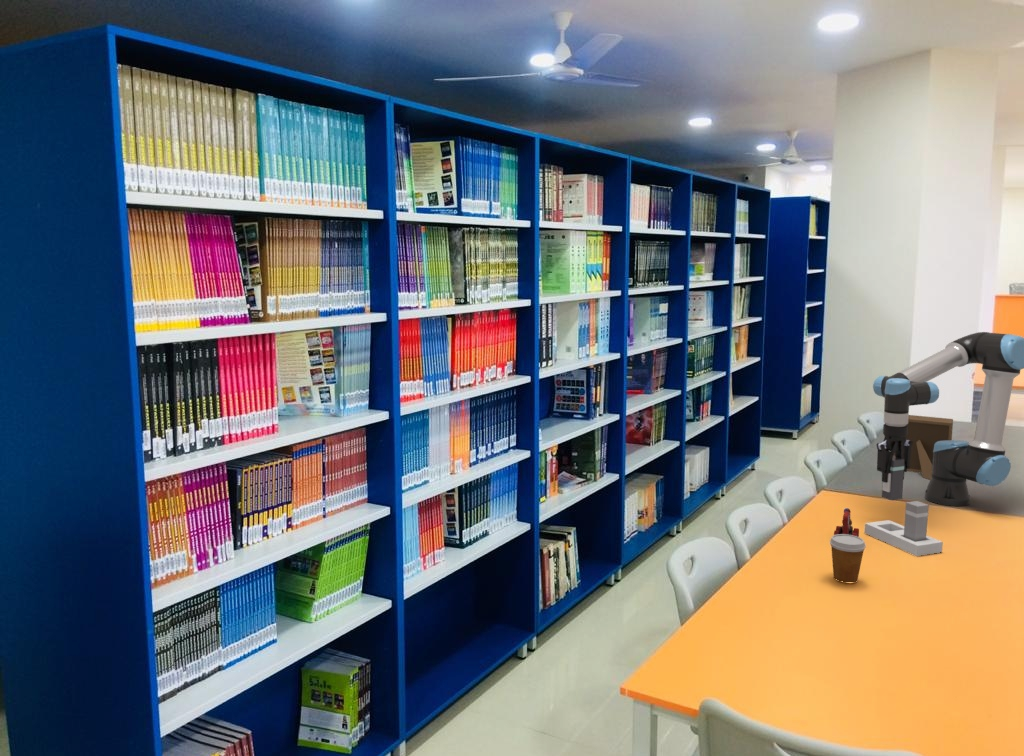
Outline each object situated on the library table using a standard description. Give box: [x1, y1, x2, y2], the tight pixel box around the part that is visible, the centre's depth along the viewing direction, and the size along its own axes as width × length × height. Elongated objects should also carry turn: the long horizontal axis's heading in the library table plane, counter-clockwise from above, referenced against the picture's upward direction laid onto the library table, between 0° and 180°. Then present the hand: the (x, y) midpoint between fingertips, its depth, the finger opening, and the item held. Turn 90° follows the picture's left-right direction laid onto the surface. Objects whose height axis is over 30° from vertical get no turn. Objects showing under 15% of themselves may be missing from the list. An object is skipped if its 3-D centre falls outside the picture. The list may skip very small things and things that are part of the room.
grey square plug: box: [903, 500, 930, 542], centre depth 248 cm, size 5×5×14 cm
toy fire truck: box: [833, 508, 860, 537], centre depth 255 cm, size 7×12×10 cm, turn 152°
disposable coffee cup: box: [829, 534, 867, 583], centre depth 224 cm, size 10×10×12 cm
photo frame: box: [893, 414, 954, 481], centre depth 332 cm, size 15×22×25 cm
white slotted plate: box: [863, 519, 944, 557], centre depth 254 cm, size 10×22×4 cm, turn 18°
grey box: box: [881, 456, 905, 501], centre depth 270 cm, size 5×5×14 cm
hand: (892, 490), depth 270 cm, fingers closed on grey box, 4 cm apart
